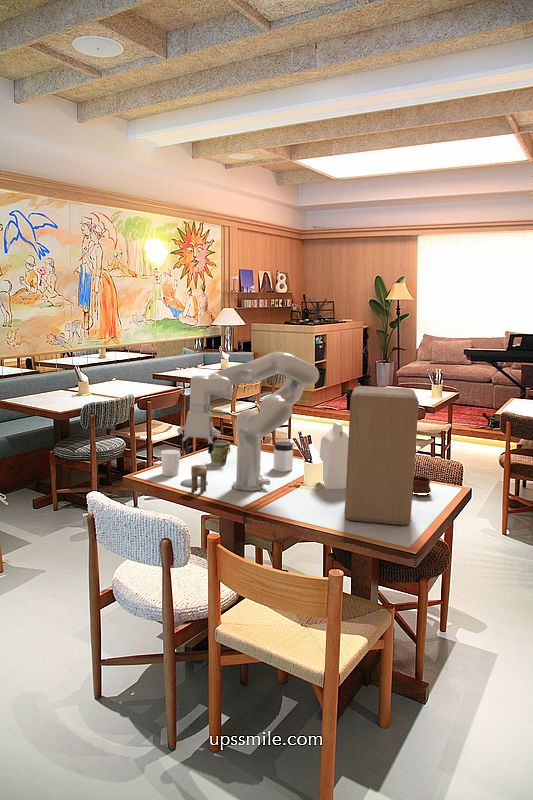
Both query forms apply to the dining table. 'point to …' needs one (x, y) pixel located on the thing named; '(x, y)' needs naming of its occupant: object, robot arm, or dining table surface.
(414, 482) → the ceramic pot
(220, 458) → the ceramic cup
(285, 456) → the jar
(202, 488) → the stool mini
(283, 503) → the dining table surface
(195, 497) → the dining table surface
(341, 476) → the milk
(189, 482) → the felt mat
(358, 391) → the block
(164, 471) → the white cup
